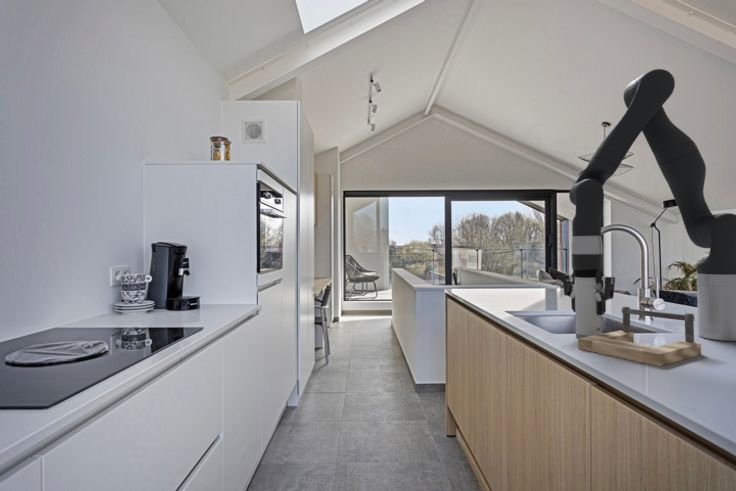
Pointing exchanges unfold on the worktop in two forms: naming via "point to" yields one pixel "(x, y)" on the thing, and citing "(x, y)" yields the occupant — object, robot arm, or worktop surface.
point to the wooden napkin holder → (662, 355)
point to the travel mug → (586, 304)
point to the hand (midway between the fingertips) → (588, 313)
